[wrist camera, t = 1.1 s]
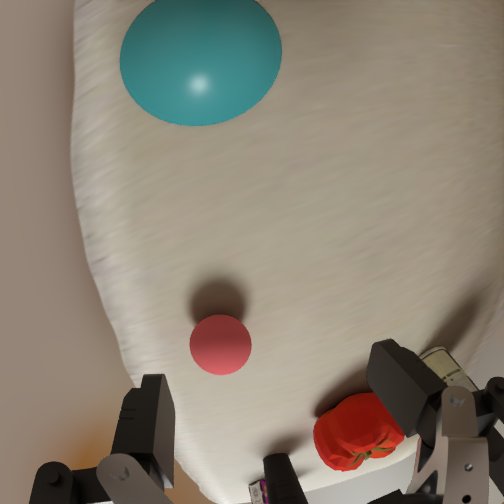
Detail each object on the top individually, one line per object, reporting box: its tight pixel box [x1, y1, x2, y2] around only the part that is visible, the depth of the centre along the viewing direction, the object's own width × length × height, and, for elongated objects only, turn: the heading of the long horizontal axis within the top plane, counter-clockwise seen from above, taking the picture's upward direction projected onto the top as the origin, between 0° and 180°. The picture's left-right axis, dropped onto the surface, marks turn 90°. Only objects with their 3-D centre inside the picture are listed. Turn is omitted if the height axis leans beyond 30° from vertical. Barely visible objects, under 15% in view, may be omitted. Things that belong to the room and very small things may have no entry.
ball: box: [190, 314, 252, 375], centre depth 25 cm, size 6×6×6 cm
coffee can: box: [419, 346, 479, 392], centre depth 33 cm, size 10×10×14 cm
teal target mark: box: [120, 0, 282, 126], centre depth 17 cm, size 12×12×1 cm
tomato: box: [313, 393, 405, 472], centre depth 34 cm, size 14×13×10 cm
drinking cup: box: [263, 453, 308, 504], centre depth 35 cm, size 8×8×20 cm
